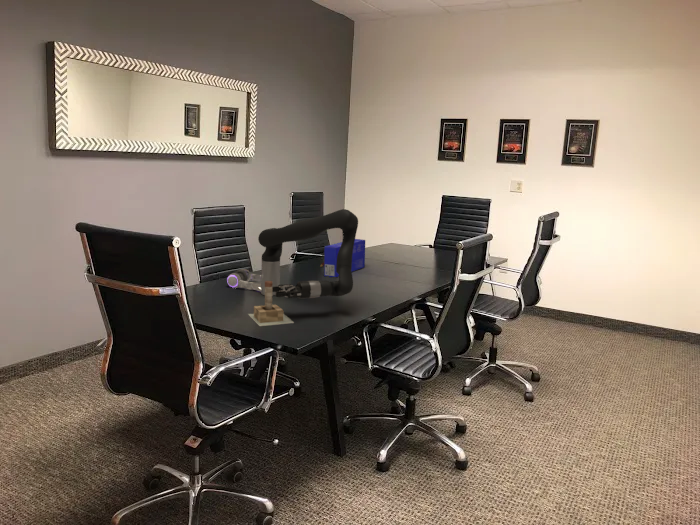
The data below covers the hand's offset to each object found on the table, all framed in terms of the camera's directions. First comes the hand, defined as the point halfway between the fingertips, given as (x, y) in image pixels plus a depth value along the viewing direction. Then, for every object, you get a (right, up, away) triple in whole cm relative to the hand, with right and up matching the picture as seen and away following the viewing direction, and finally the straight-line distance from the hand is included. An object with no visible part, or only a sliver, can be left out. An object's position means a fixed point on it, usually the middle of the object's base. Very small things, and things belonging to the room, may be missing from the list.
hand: (273, 291), depth 232 cm
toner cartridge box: (+30, +6, +106) cm, 110 cm away
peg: (-2, -11, +1) cm, 12 cm away
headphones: (-20, -1, +59) cm, 62 cm away
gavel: (+18, +11, +126) cm, 128 cm away
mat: (-1, -12, +2) cm, 12 cm away
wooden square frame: (-2, -11, +1) cm, 12 cm away
